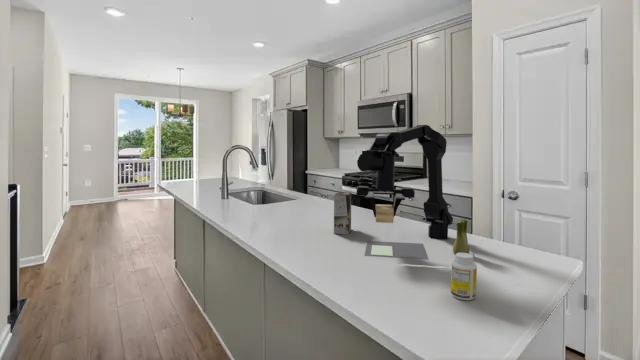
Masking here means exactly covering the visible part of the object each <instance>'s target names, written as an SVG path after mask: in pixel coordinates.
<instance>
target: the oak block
mask: <svg viewBox="0 0 640 360" xmlns="http://www.w3.org/2000/svg"><path fill="white" fill-rule="evenodd" d="M375 208H376V217H374V218H375V223H382V224H383V223H385V224H393V223H394V218H395V216H394V209H393V204H379V203H377V204H376V203H375ZM393 217H394V218H393Z"/></svg>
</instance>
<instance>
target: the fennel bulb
mask: <svg viewBox="0 0 640 360" xmlns="http://www.w3.org/2000/svg"><path fill="white" fill-rule="evenodd" d="M467 228H468V220H467V219H460V221H457V222H456V238H455V240H454V243H453V247H452V252H453V254H454V255H455V256H456V253H469V254H470V245H469V241H468V234H467V232H468V229H467Z"/></svg>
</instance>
